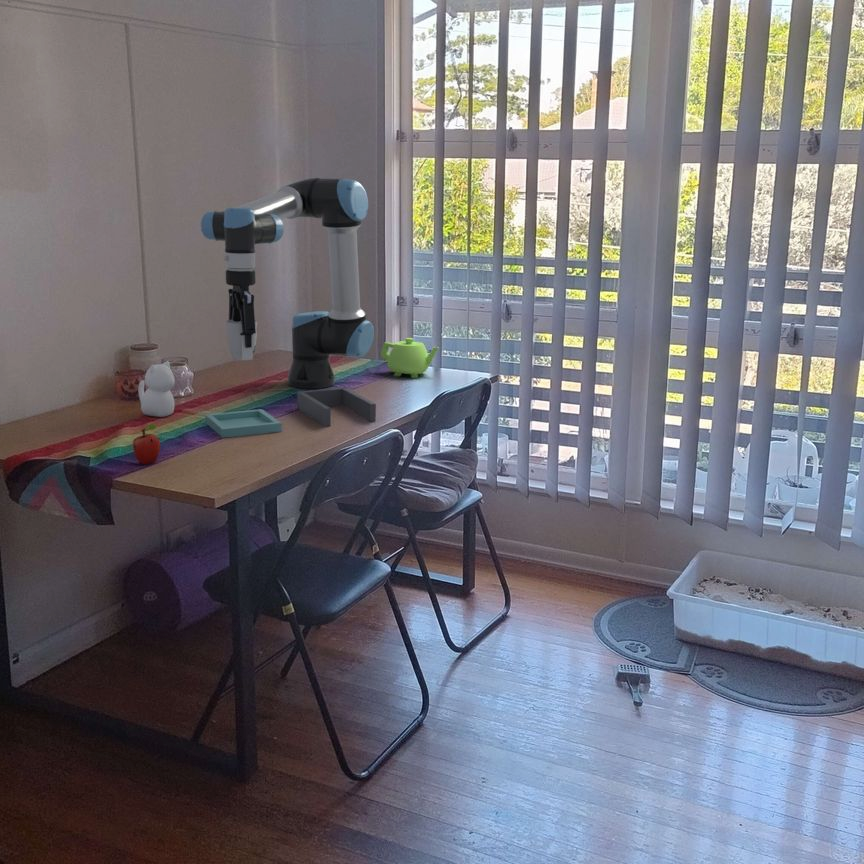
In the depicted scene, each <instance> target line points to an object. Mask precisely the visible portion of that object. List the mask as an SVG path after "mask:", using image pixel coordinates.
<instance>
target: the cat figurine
mask: <svg viewBox="0 0 864 864" xmlns="http://www.w3.org/2000/svg"><path fill="white" fill-rule="evenodd" d="M175 381H176V380H175V376H174V374H173V371H172V370H171V365H170V361H169V360H166V361H164V362H163V363H161V364H158V363H157V364H151V365H150V367H148V369H147V370H146V372H145V376H144V380H142V379H141V380H140V382H139V384H138V391H137V392H138V398H139V401H140V410H141V411H142V414H144V415H145V416H149V417H150V416H151V417H158V418H164V417H168V416H170V415H172V414H173V413H174V411H175V397H174V395H173V393H172V391H171V390H172V389H173V388H174V386H175V383H176V382H175ZM145 385H146V387H147V389H146V390H145Z"/></svg>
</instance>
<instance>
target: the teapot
mask: <svg viewBox="0 0 864 864" xmlns="http://www.w3.org/2000/svg"><path fill="white" fill-rule="evenodd" d="M390 348H391V351H390V353H389V349H390ZM439 349H440V348H439V347H438V346H433V347H432V349H431V351H430V353H428V350H427V348H426V346H425V344H424V343H423V342H420V341H414V338H413V337H405V338H404V340H401V341H397V342H396V343H394V342H388V341H385V342H383V345H382V349H381V353H380V357H381V358H382V359H384V360H385V361H386V362H387V368H388V369H389V371H391V373H392V372H393V373H394V374H393V377H401V376H402V374H405V375H410V378H412V379H418V378H419V375H424V373H426V372H427V370H428V369H429V367H430V365H431V364H432V361H433V359H434V358H435V356H436V354H437V352H438V351H439Z"/></svg>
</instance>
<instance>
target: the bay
mask: <svg viewBox="0 0 864 864" xmlns="http://www.w3.org/2000/svg"><path fill="white" fill-rule="evenodd" d="M296 404H297V405H296V406H297V407H296V409H297V410H299V411H301V412H302V413H304V414H305V415H307V416H308V417H310V418H311V419H313V420H315V421H316V422H318V423H319V424H321V425H322V426H323V427H331V425H332V423H331V422H332V421H331V420H332V418H331V415H332V413H331V412H332V410H331V408H332V407H338V406H339V407H341V406H343V408H347V409H348V410H349V411H351V412H352V413H354V414H356V415H358V416H360V417H362V419H365V420H367V421H368V422H371V423H373V422H376V421H377V418H376V415H377V413H376V412H377V411H376V410H377V409H376V408H377V407H376V406H377V404H376V403H375V402H373V401H371V400H370V399H367V398H366V397H363V396H362V395H360V394H359V393H356V392H354V391H352V390H350V389H349V388H347V387H345V386H344V387H335V388H326V389H325V388H321V389H313V390H311V389H310V390H302V391H297V392H296Z"/></svg>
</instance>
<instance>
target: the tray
mask: <svg viewBox="0 0 864 864" xmlns="http://www.w3.org/2000/svg"><path fill="white" fill-rule="evenodd" d="M204 415H205V416H204V419H205V424H206V425H208V427H210V428H211V429H212V430H213V431H214V432H216V433H217V434H218V435H219V436H220V437H221V438H222V439H223V438H233V437H242V436H243V437H244V436H251V435H259V434H269V433H270V434H271V433H280V432H282V431H283V427H282V425H283V423H282V422H281V421H279V420H278V419H277V418H275V417H274V416H272V415H271V414H270V413H268V412H267V411H266V410H264V409H262V408H261V409H260V408H259V409H251V410H250V409H249V410H238V411H229V412H219V413H207V414H204Z"/></svg>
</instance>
